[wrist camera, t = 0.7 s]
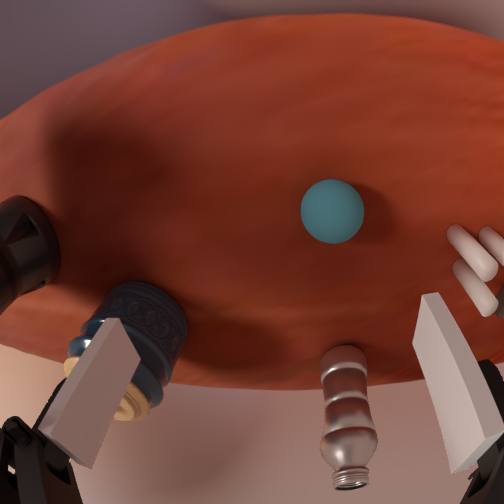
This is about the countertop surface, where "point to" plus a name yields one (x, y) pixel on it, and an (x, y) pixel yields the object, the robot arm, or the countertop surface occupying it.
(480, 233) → the pin
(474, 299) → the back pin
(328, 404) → the plastic bottle
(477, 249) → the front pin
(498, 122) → the countertop surface
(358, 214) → the ball
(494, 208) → the countertop surface
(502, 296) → the dark grey rod
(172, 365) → the canister
